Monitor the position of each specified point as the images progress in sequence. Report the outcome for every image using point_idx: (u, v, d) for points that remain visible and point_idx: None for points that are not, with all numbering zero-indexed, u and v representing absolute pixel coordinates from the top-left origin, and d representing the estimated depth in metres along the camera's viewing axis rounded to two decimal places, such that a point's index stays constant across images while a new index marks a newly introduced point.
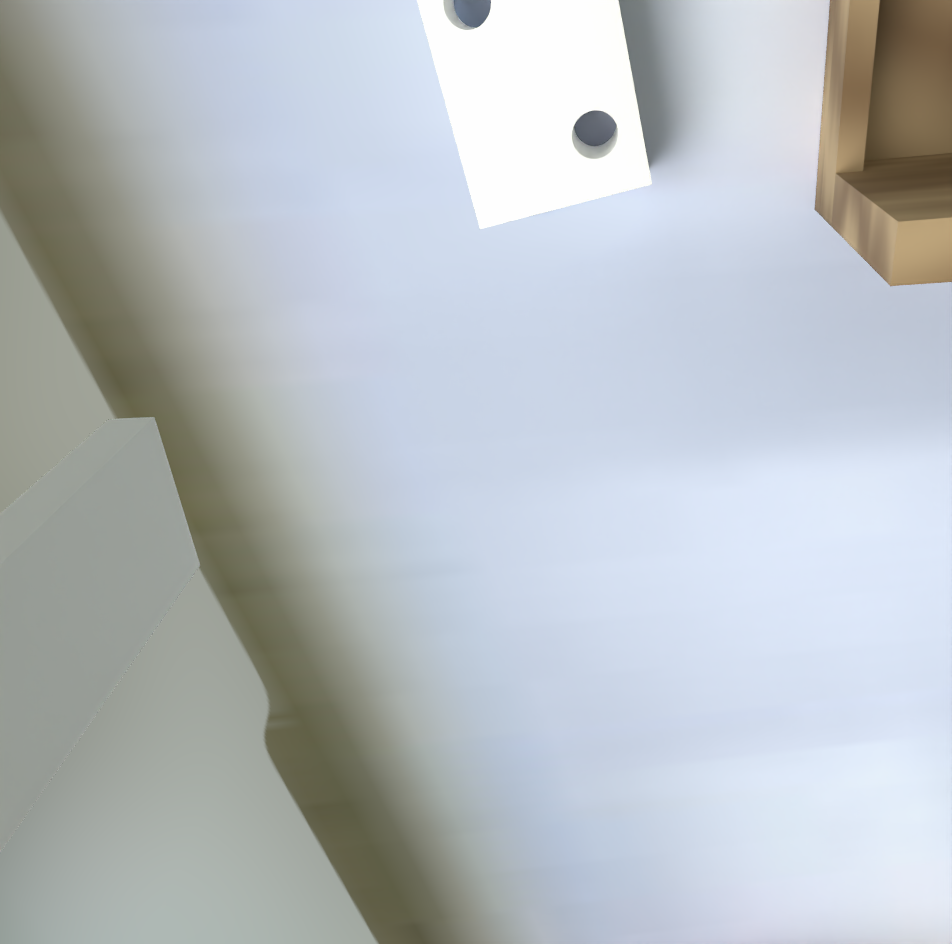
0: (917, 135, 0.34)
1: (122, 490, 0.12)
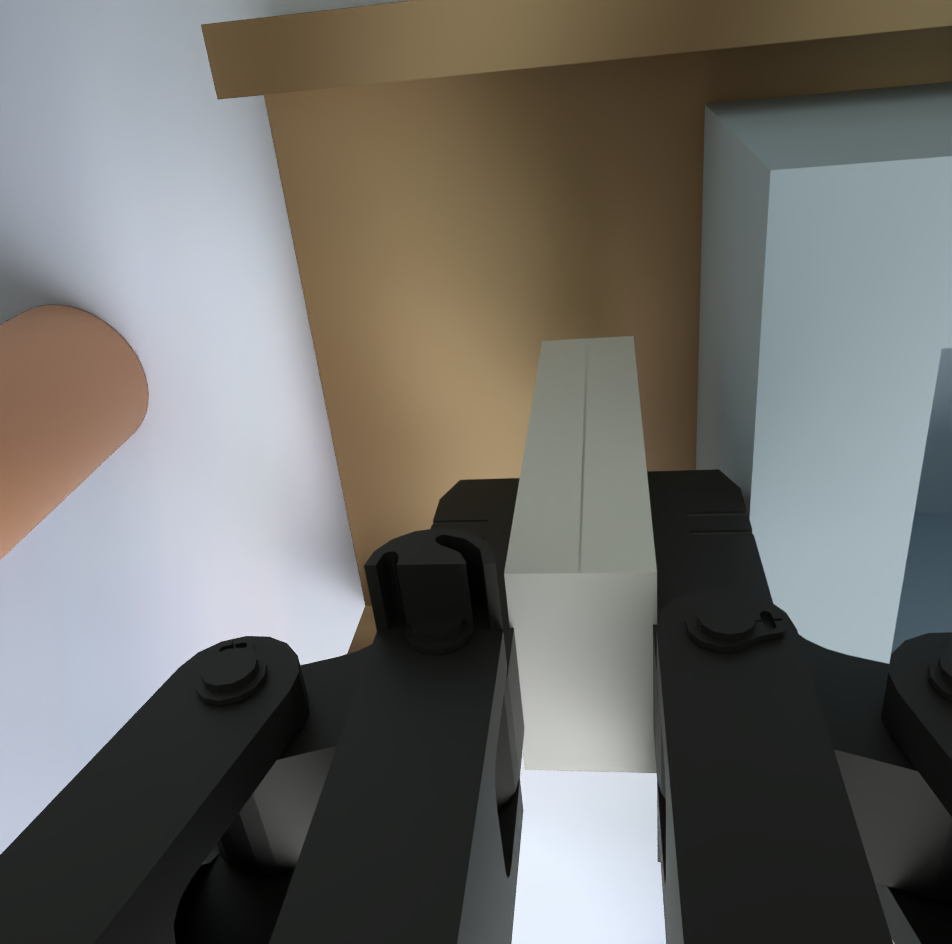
0: None
1: None
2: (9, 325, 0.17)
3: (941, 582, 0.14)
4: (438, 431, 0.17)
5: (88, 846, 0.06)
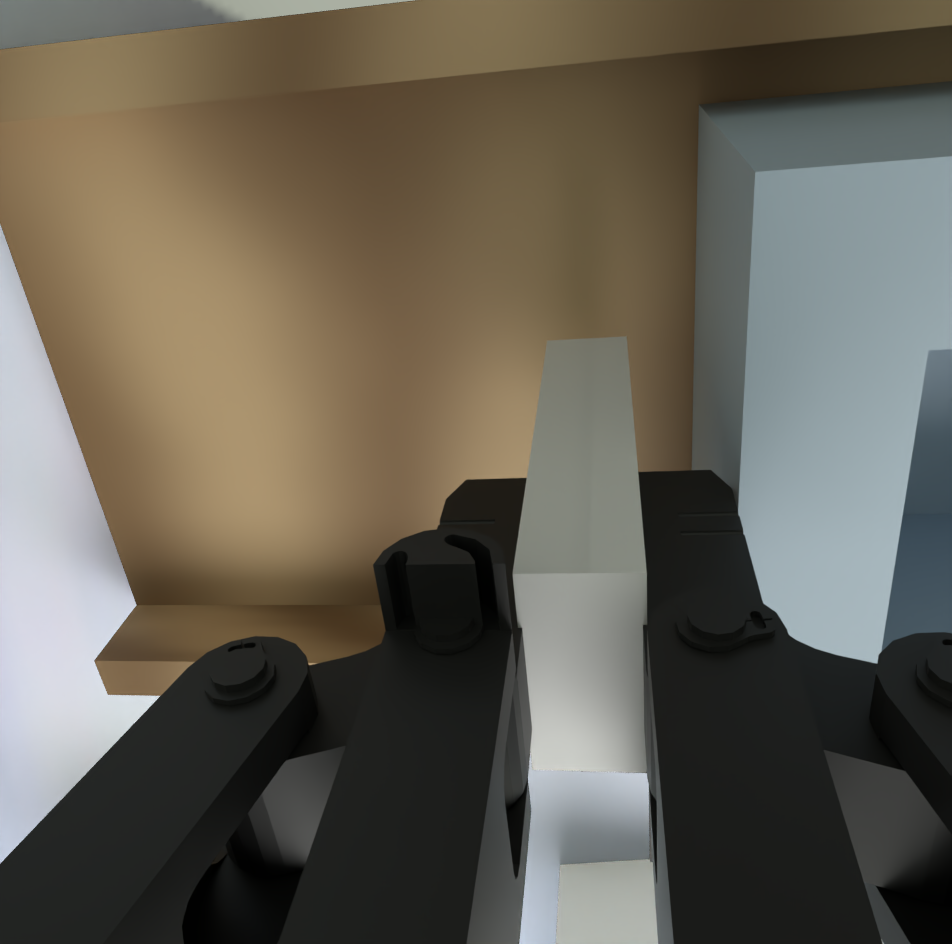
0: None
1: None
2: None
3: (935, 583, 0.14)
4: (175, 440, 0.18)
5: (97, 846, 0.06)
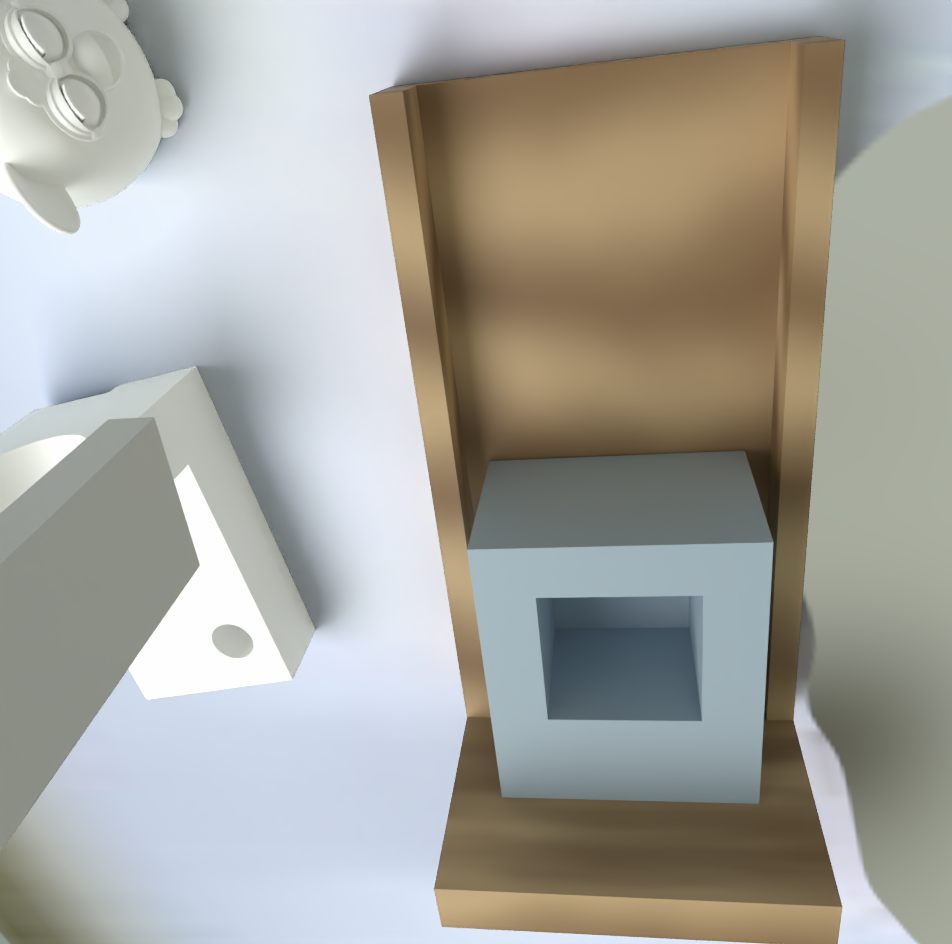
0: None
1: (122, 490, 0.12)
2: None
3: None
4: (563, 148, 0.27)
5: None
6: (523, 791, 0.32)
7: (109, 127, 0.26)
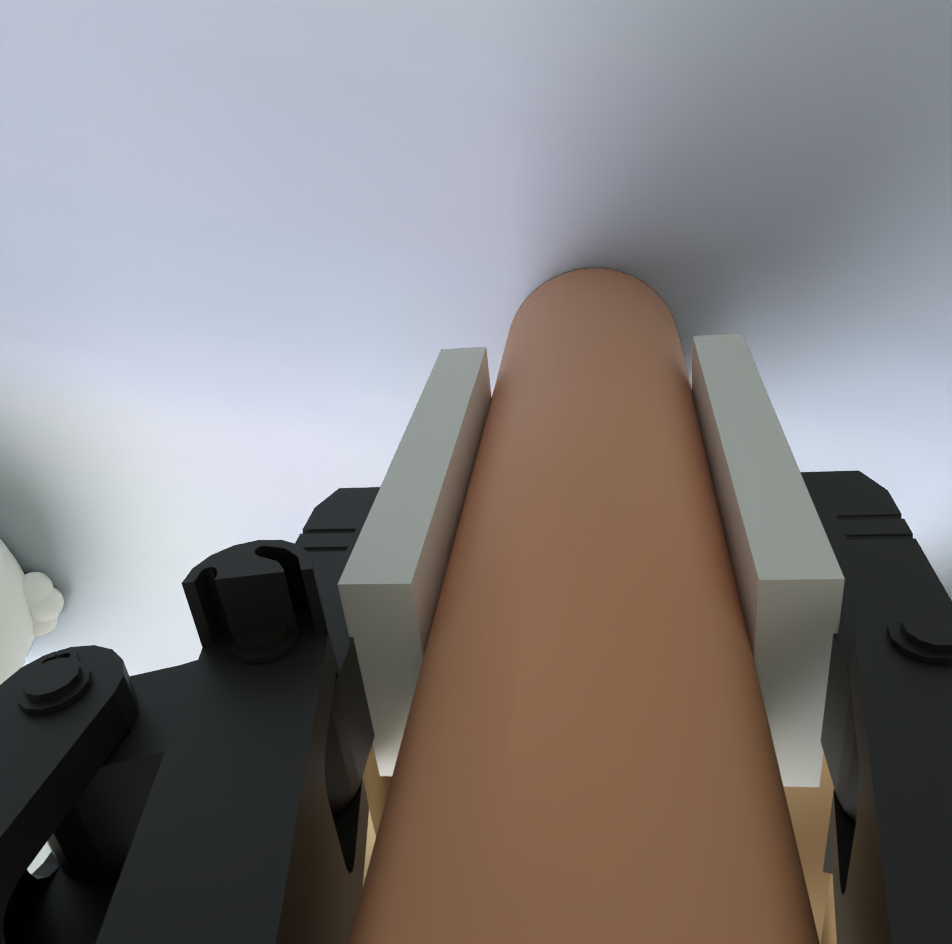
0: None
1: (479, 409, 0.13)
2: None
3: None
4: None
5: None
6: None
7: None
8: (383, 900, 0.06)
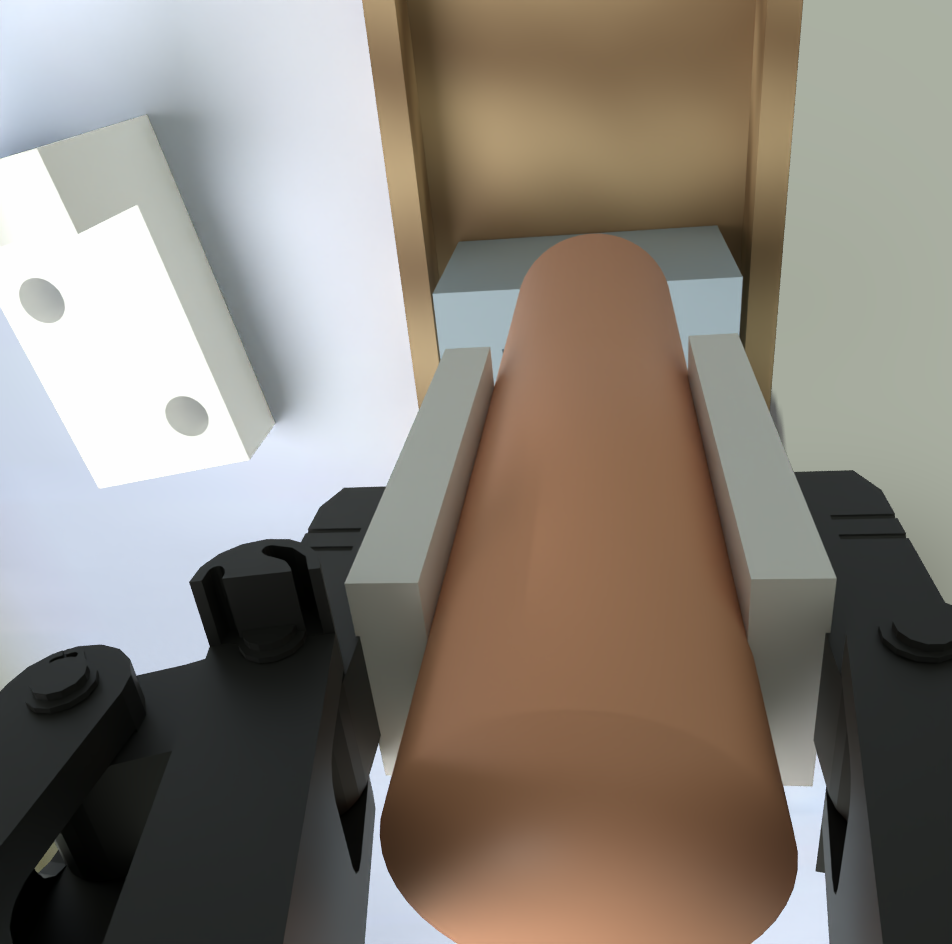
0: None
1: (483, 408, 0.13)
2: None
3: None
4: None
5: None
6: None
7: None
8: (441, 652, 0.08)
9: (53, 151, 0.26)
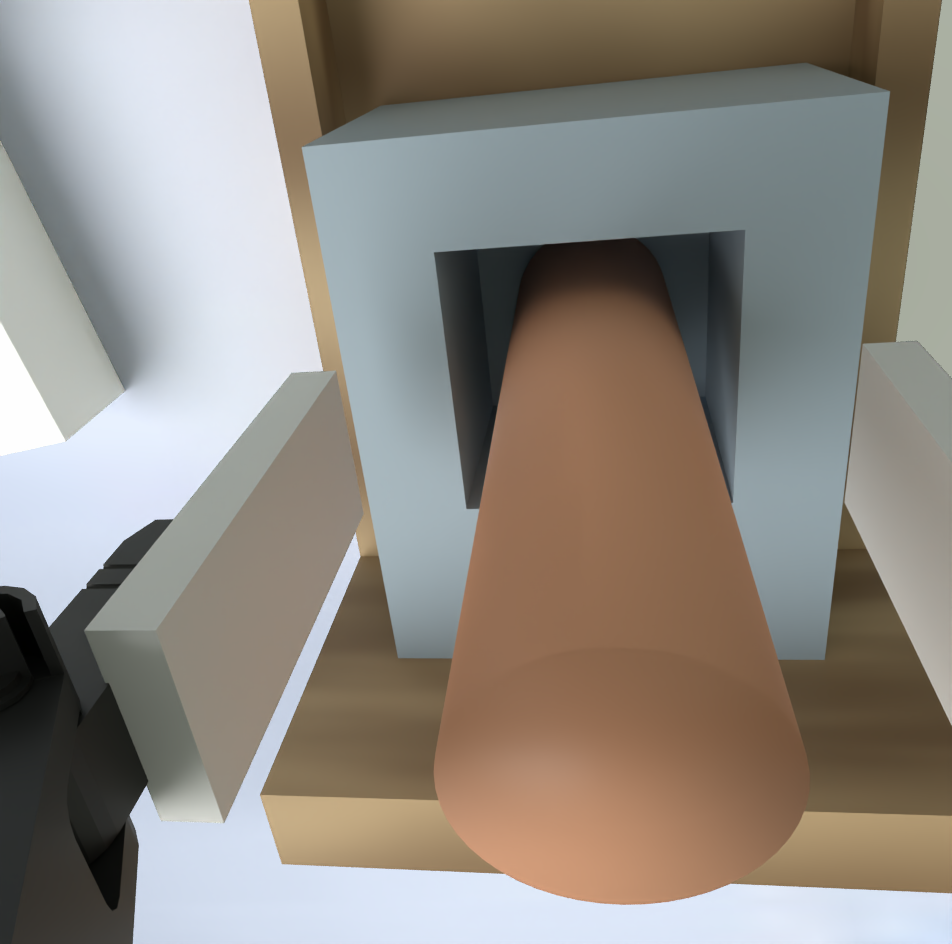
0: None
1: (319, 436, 0.13)
2: None
3: (466, 296, 0.18)
4: None
5: None
6: (432, 646, 0.19)
7: None
8: (482, 608, 0.09)
9: None
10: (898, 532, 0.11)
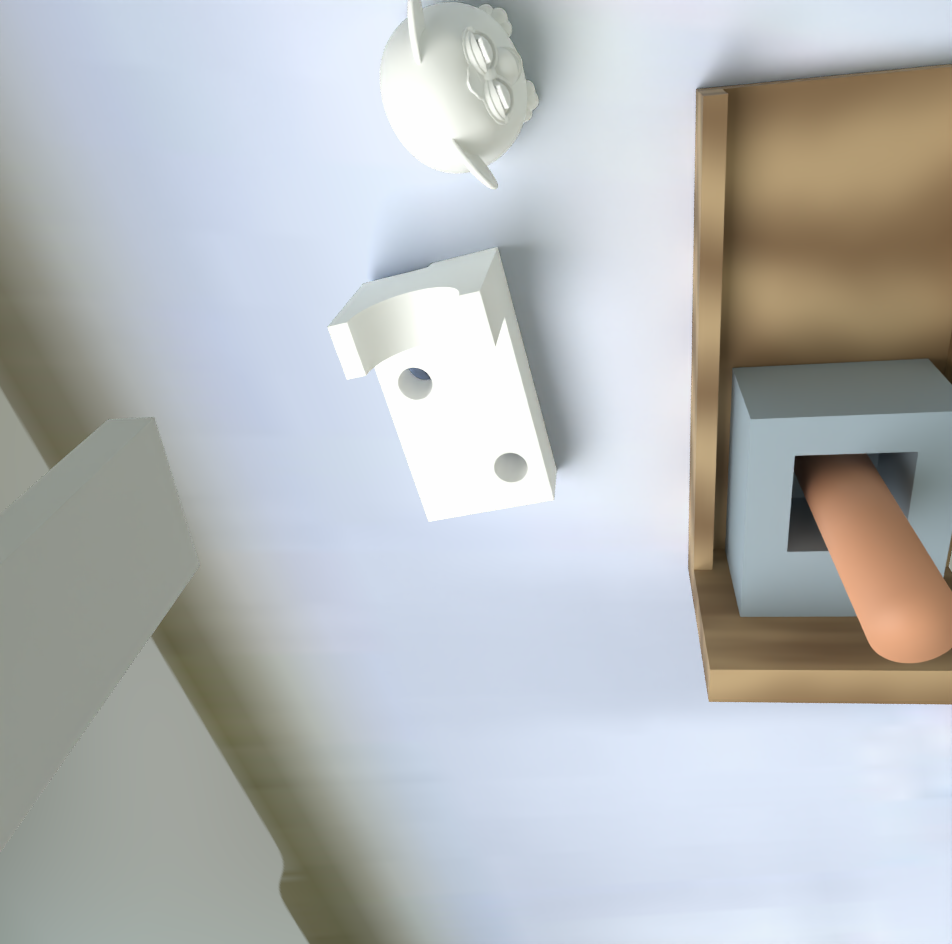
0: None
1: (122, 491, 0.12)
2: None
3: None
4: (823, 134, 0.38)
5: None
6: (757, 611, 0.43)
7: (510, 114, 0.37)
8: (873, 582, 0.32)
9: (482, 290, 0.37)
10: None
